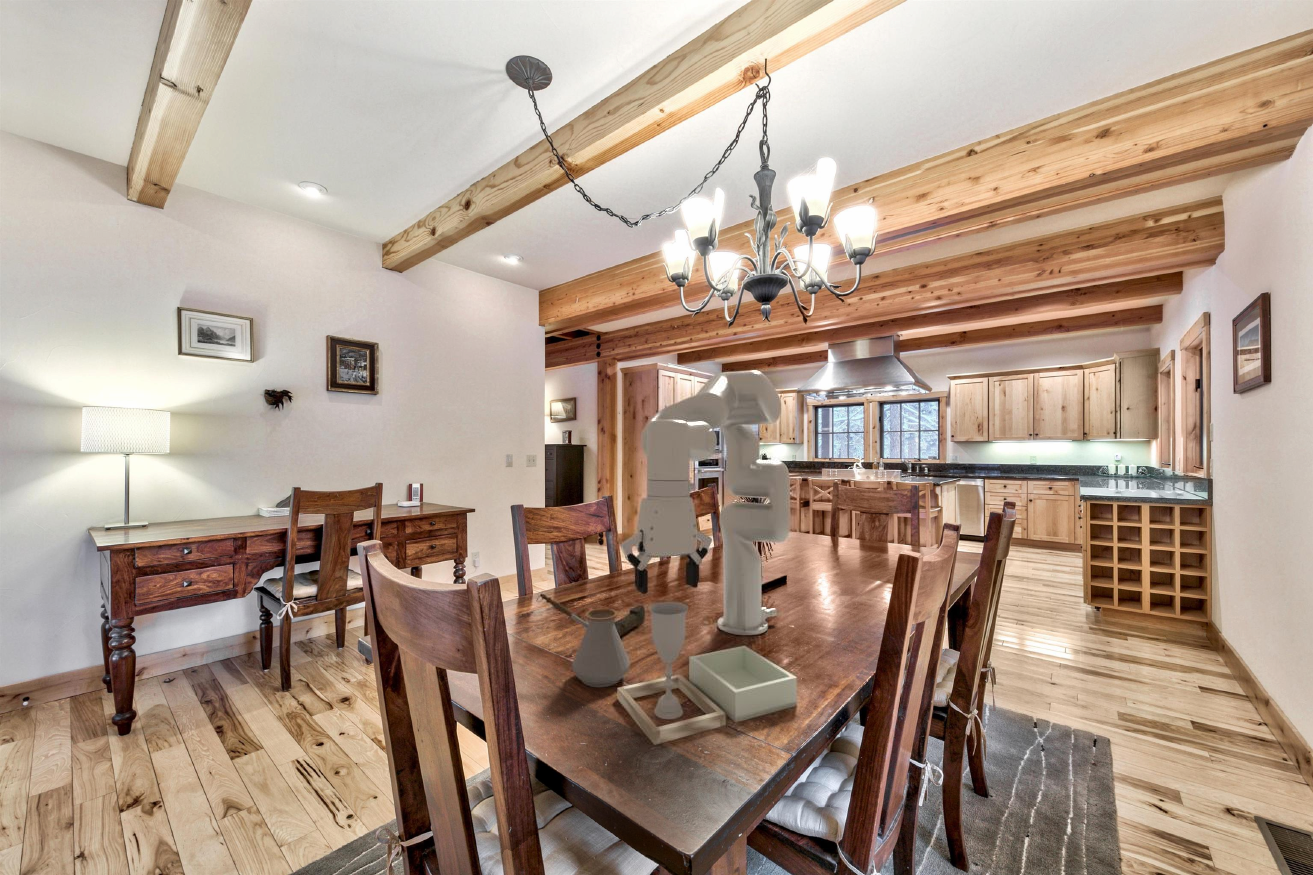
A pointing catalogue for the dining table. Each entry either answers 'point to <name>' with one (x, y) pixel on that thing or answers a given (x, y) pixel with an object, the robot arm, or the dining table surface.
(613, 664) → the coffee pot
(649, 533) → the robot arm
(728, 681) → the sage bin
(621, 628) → the hand tool
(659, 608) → the chalice
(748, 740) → the dining table surface
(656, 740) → the ash frame
